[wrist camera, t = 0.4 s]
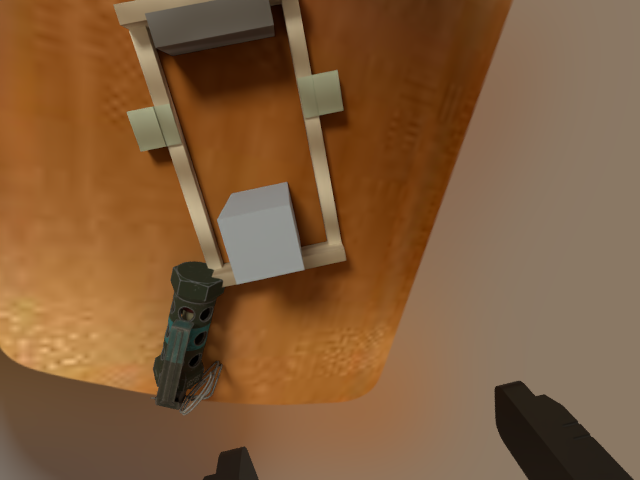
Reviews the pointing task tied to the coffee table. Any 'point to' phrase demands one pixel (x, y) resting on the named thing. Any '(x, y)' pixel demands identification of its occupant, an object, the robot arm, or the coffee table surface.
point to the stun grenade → (187, 337)
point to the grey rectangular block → (261, 233)
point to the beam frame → (210, 32)
